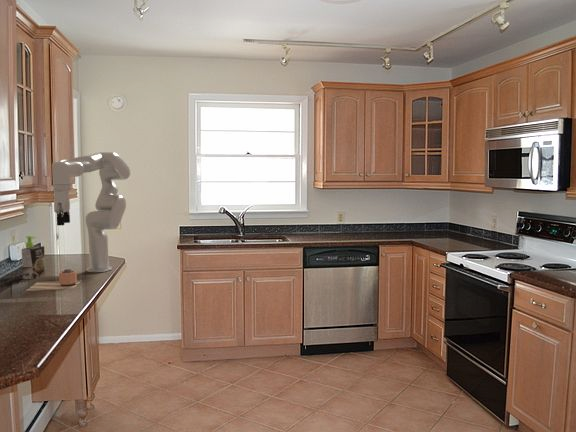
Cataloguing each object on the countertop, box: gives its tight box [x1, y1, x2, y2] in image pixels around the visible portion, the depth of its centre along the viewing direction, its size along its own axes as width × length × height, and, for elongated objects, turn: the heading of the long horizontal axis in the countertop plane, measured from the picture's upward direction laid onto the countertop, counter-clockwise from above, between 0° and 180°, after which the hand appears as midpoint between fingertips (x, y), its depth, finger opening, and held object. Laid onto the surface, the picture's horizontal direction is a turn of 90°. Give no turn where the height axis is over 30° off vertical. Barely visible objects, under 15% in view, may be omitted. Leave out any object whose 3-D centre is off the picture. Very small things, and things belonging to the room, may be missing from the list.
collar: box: [58, 269, 78, 285], centre depth 242 cm, size 7×7×5 cm
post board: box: [25, 268, 82, 292], centre depth 241 cm, size 16×20×8 cm
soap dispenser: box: [25, 235, 36, 248], centre depth 269 cm, size 6×7×20 cm
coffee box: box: [21, 245, 47, 280], centre depth 258 cm, size 9×6×16 cm
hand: (63, 224), depth 250 cm, fingers open, 9 cm apart
